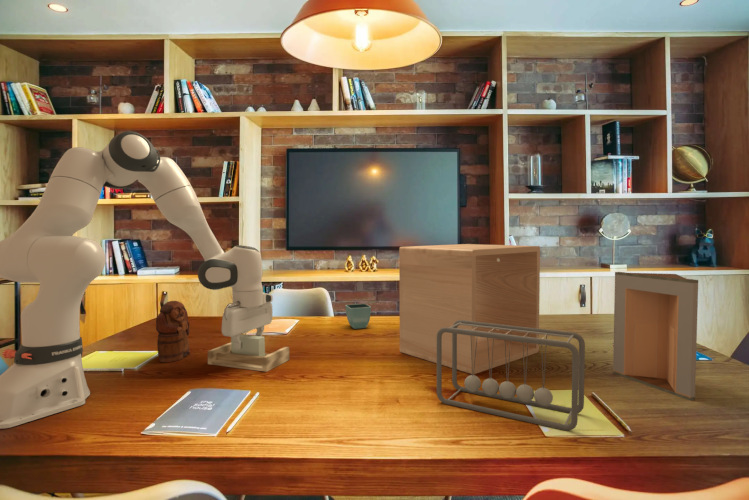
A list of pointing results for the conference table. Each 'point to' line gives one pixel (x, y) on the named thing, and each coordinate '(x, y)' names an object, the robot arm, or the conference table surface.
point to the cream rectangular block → (250, 345)
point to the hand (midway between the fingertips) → (248, 344)
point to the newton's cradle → (507, 388)
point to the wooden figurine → (172, 332)
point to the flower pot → (358, 315)
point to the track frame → (247, 359)
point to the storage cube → (468, 300)
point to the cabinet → (656, 331)
